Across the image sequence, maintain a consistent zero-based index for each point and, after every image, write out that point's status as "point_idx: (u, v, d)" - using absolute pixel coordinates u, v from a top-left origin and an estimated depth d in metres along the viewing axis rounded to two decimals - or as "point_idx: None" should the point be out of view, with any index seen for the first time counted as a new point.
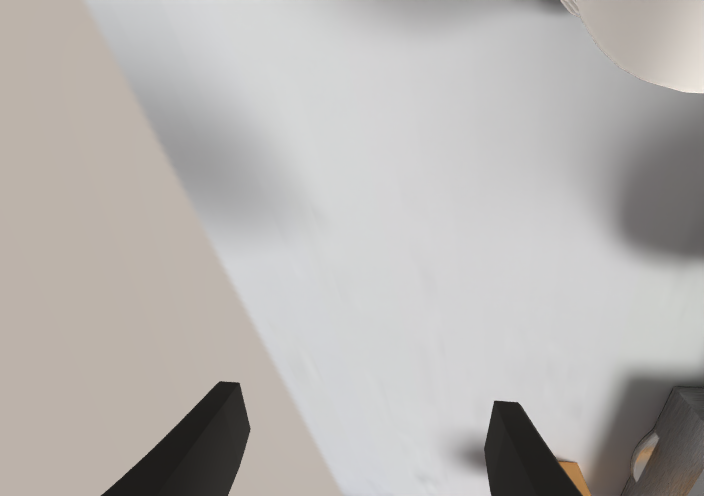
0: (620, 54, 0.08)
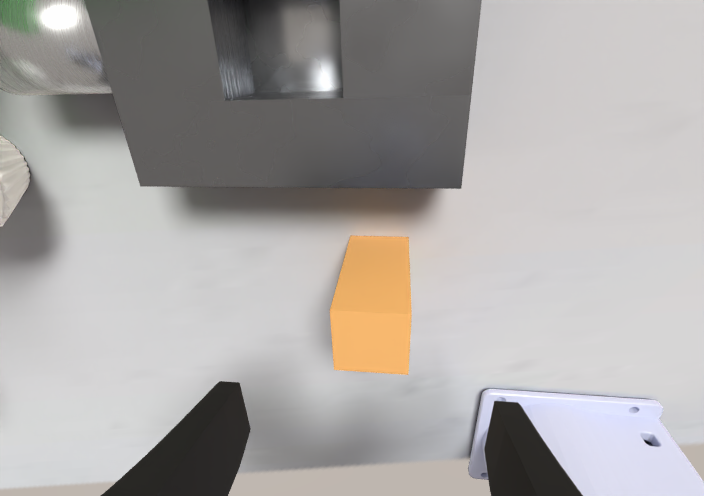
0: None
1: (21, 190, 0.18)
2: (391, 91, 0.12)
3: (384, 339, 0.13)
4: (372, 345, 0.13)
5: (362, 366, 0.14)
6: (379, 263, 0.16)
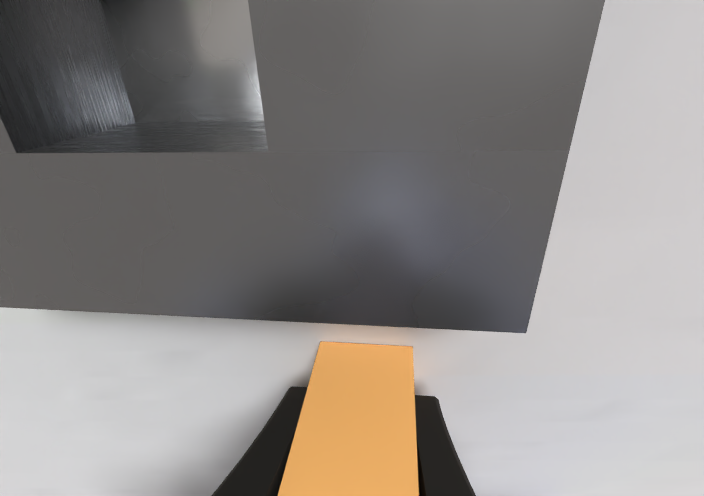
0: None
1: None
2: (377, 139, 0.05)
3: None
4: None
5: None
6: (363, 421, 0.09)
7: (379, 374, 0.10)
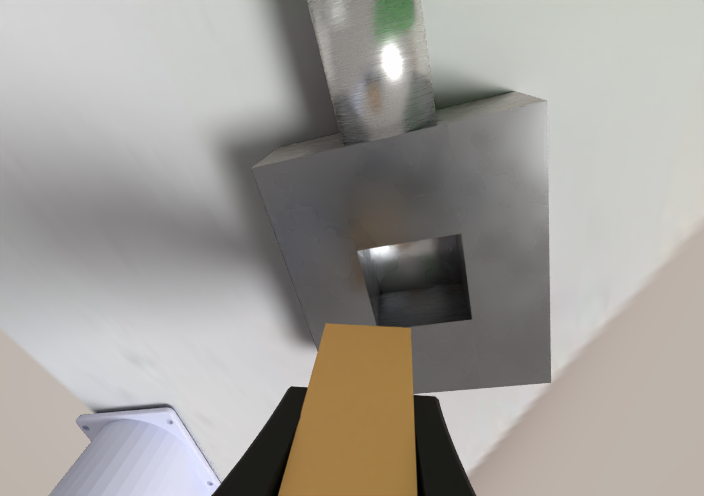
0: None
1: None
2: None
3: None
4: None
5: None
6: (365, 390, 0.10)
7: (380, 351, 0.11)
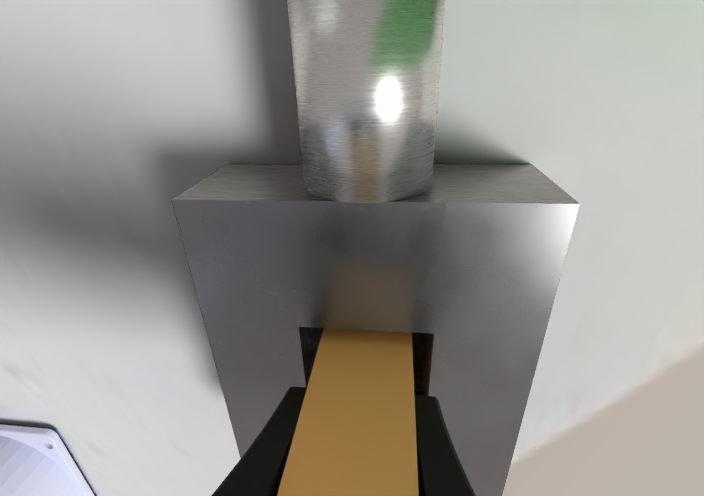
0: None
1: None
2: None
3: None
4: None
5: None
6: (368, 374, 0.10)
7: (381, 338, 0.11)
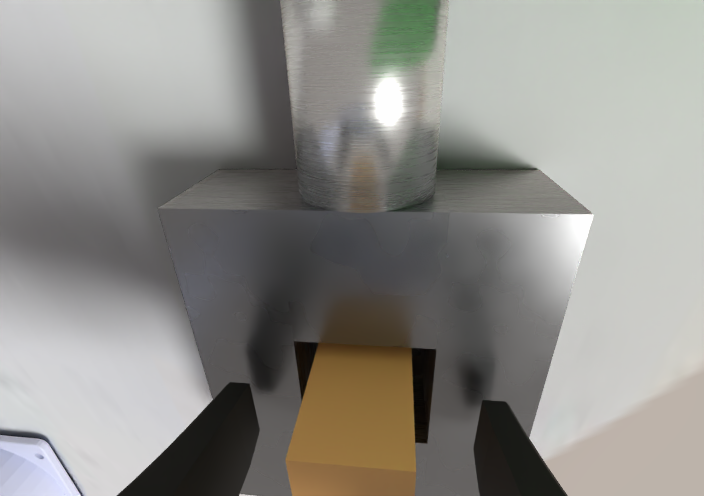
0: None
1: None
2: None
3: None
4: None
5: None
6: (368, 354, 0.11)
7: None
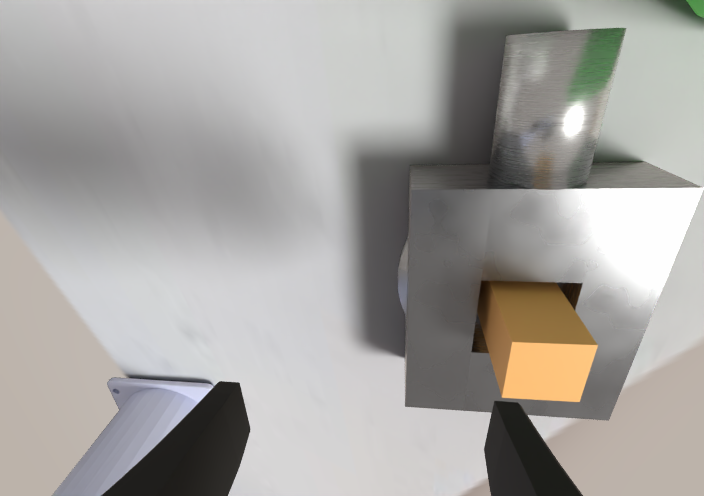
0: None
1: None
2: (471, 376, 0.18)
3: (562, 369, 0.13)
4: (548, 374, 0.14)
5: (532, 394, 0.14)
6: (530, 289, 0.16)
7: None
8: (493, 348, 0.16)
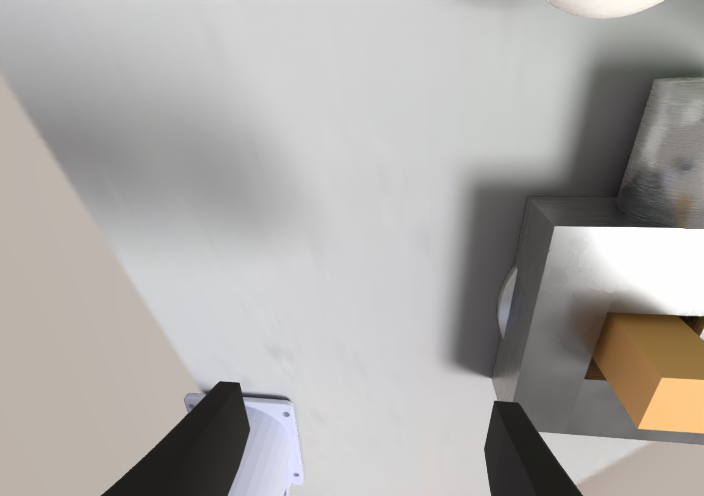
0: None
1: None
2: (579, 401, 0.19)
3: None
4: (691, 408, 0.14)
5: (669, 426, 0.15)
6: (653, 321, 0.16)
7: None
8: (617, 378, 0.16)
